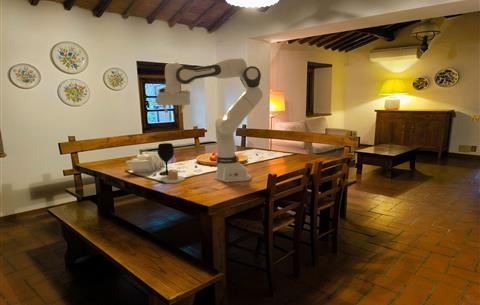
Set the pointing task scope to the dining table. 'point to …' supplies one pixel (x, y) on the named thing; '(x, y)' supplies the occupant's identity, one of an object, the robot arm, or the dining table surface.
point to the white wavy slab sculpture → (146, 162)
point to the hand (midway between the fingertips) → (174, 112)
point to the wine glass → (165, 154)
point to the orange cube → (172, 174)
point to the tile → (179, 179)
